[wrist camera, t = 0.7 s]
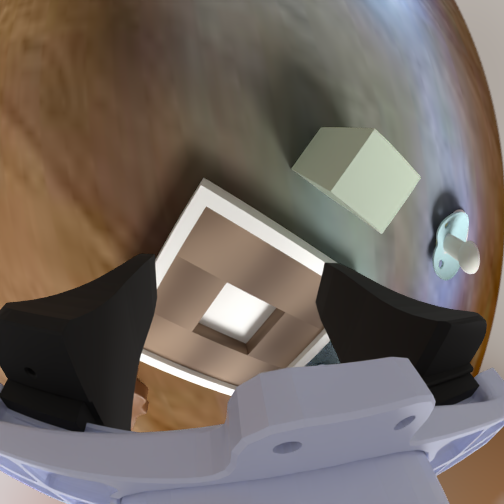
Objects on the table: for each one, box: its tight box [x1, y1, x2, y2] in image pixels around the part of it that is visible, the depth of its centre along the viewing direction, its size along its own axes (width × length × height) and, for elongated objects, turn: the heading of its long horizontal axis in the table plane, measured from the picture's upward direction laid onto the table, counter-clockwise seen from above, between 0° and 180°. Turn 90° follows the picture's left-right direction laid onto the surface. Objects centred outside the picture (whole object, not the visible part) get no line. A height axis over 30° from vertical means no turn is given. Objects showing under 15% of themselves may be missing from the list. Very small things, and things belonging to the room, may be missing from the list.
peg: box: [291, 127, 421, 234], centre depth 17 cm, size 4×4×8 cm
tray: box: [140, 178, 337, 396], centre depth 23 cm, size 16×16×3 cm
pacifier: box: [433, 209, 480, 280], centre depth 22 cm, size 7×6×6 cm
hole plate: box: [143, 206, 324, 386], centre depth 23 cm, size 14×14×2 cm
